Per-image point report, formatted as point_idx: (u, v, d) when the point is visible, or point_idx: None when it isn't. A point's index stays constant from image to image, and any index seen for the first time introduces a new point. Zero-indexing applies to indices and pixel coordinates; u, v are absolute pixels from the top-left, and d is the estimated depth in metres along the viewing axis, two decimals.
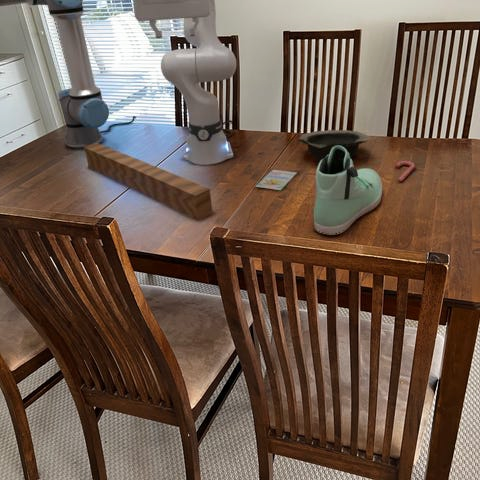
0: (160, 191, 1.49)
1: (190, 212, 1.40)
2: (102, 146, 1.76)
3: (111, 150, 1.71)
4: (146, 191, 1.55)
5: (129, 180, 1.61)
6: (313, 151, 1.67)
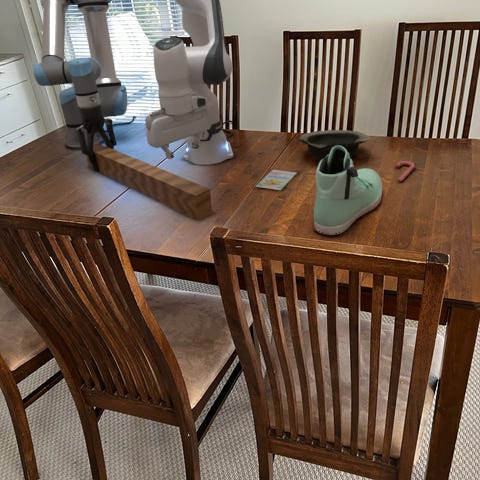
0: (160, 191, 1.49)
1: (190, 212, 1.40)
2: (102, 146, 1.76)
3: (111, 150, 1.71)
4: (146, 191, 1.55)
5: (129, 180, 1.61)
6: (313, 151, 1.67)
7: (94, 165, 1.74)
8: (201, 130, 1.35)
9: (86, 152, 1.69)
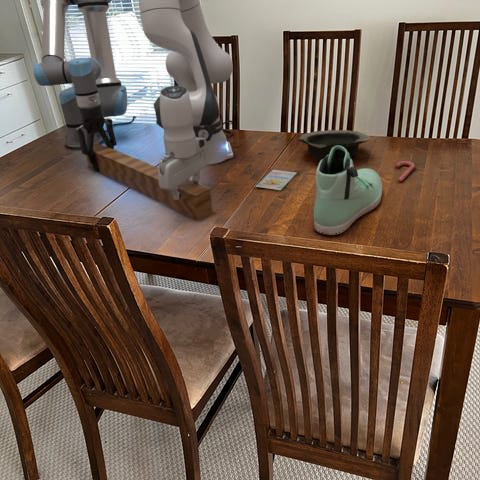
0: (160, 191, 1.49)
1: (190, 212, 1.40)
2: (102, 146, 1.76)
3: (111, 150, 1.71)
4: (146, 191, 1.55)
5: (129, 180, 1.61)
6: (313, 151, 1.67)
7: (94, 165, 1.74)
8: (200, 169, 1.42)
9: (86, 152, 1.69)
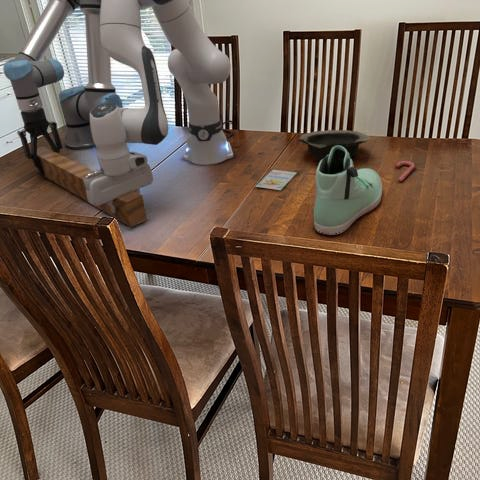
0: None
1: (124, 219, 1.38)
2: (48, 150, 1.73)
3: (55, 154, 1.69)
4: (85, 196, 1.53)
5: (70, 185, 1.58)
6: (313, 151, 1.67)
7: (39, 169, 1.72)
8: (142, 186, 1.41)
9: (29, 156, 1.67)
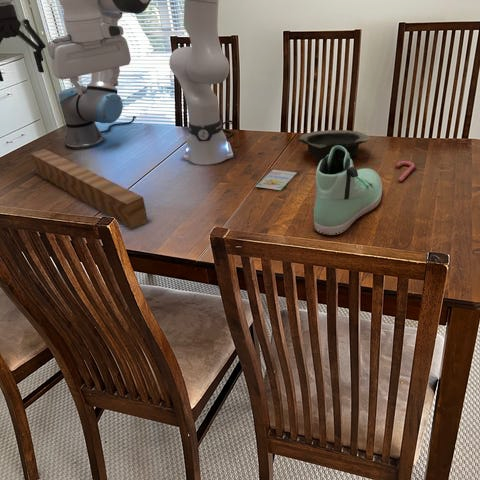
0: (97, 199, 1.47)
1: (124, 221, 1.39)
2: (48, 152, 1.74)
3: (56, 156, 1.70)
4: (86, 198, 1.53)
5: (70, 187, 1.59)
6: (313, 151, 1.67)
7: None
8: (118, 64, 1.23)
9: None
